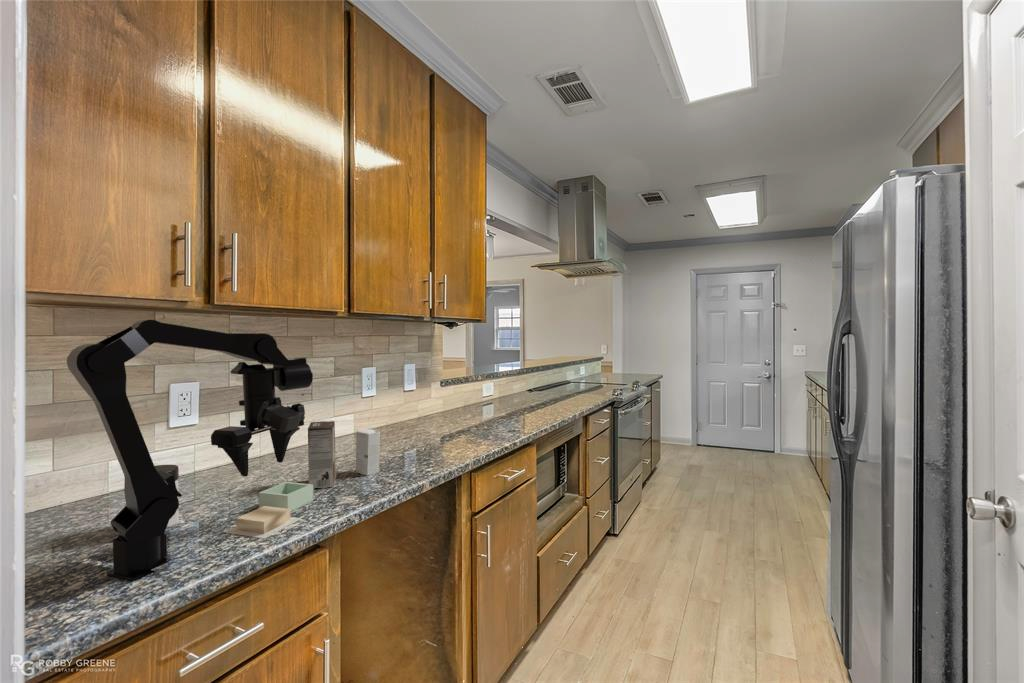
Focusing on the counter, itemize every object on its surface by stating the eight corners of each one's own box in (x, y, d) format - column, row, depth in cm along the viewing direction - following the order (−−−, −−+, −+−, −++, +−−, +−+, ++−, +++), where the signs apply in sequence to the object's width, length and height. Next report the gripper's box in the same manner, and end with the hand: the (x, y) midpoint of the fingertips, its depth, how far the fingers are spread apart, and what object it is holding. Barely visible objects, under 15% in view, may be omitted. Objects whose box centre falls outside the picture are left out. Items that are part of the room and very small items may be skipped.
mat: (264, 541, 89) (264, 538, 89) (224, 535, 92) (224, 532, 92) (301, 521, 99) (301, 518, 99) (264, 516, 102) (264, 513, 102)
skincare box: (355, 472, 134) (354, 431, 134) (368, 468, 138) (367, 428, 137) (367, 476, 130) (367, 433, 130) (381, 472, 134) (380, 430, 134)
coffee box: (311, 479, 128) (310, 421, 127) (336, 477, 130) (335, 420, 129) (307, 490, 119) (306, 428, 119) (334, 487, 121) (333, 426, 121)
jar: (167, 515, 103) (166, 462, 103) (190, 521, 99) (189, 466, 99) (119, 531, 95) (118, 473, 94) (142, 538, 91) (141, 478, 91)
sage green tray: (287, 516, 102) (287, 495, 102) (259, 512, 104) (258, 492, 104) (313, 503, 109) (313, 484, 109) (286, 500, 112) (285, 481, 112)
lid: (264, 534, 91) (263, 522, 91) (236, 530, 93) (236, 518, 93) (290, 520, 98) (290, 509, 98) (264, 516, 100) (264, 505, 100)
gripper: (254, 402, 84) (258, 487, 84) (322, 388, 102) (326, 457, 102) (206, 401, 87) (211, 483, 87) (281, 387, 105) (284, 455, 105)
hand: (263, 468), depth 96 cm, fingers open, 9 cm apart
